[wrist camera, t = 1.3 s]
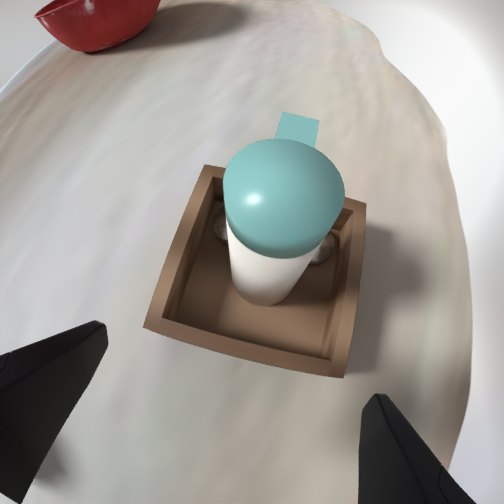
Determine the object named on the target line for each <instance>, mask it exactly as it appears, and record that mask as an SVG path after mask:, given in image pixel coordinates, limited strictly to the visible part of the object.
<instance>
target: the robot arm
mask: <svg viewBox="0 0 504 504" xmlns="http://www.w3.org/2000/svg"><path fill="white" fill-rule="evenodd" d="M107 347H108V336H107V329H106V325H105V324H104V323H101V322H99V321H96V320H94V321H91V322H88V323H86V324H83V325H80V326H78V327H75V328H72V329H70V330H67V331H64V332H62V333H59V334H57V335H54V336H51V337H49V338H46V339H43V340H41V341H38V342H35V343H33V344H30V345H27V346H25V347H22V348H19V349H17V350H14V351H11V353H10V352H8V353H6V354H3V355H0V493H2V494H3V495H5V496H6V497H8V498H10V499H11V500H13V501H14V502H16V503H18V504H21V503H22V501H23V499H24V497H25V495H26V493H27V491H28V489H29V487H30V485H31V483H32V481H33V479H34V477H35V476H36V474H37V472H38V470H39V468H40V466H41V464H42V462H43V460H44V458H45V457H46V455H47V453H48V451H49V449H50V448H51V446H52V444H53V442H54V441H55V439H56V437H57V435H58V434H59V432H60V430H61V429H62V427H63V425H64V423H65V422H66V420H67V418H68V417H69V415H70V413H71V412H72V410H73V409H74V407H75V405H76V404H77V402H78V401H79V399H80V397H81V396H82V394H83V393H84V391H85V389H86V388H87V386H88V385H89V383H90V381H91V379H92V377H93V375H94V373H95V371H96V369H97V367H98V365H99V363H100V361H101V359H102V357H103V355H104V353H105V352H106V350H107ZM358 504H476V503H475V502H474V501H473V500H472V499H471V498H470V497H469V496H468V494H467V493H466V492H465V491H464V490H463V489H462V488H461V487H460V486H459V485H458V484H457V483H456V482H455V480H454V479H453V478H452V477H451V476H450V474H449V473H448V472H447V470H446V469H445V468H444V467H443V465H441V463H440V462H439V460H438V459H437V458H436V456H435V455H434V454H433V453H432V451H431V450H430V449H429V447H428V446H427V445H426V444H425V442H424V441H423V440H422V439H421V437H420V436H419V435H418V433H417V432H416V431H415V430H414V428H413V427H412V426H411V425H410V423H409V422H408V421H407V420H406V418H405V417H404V416H403V415H402V413H401V412H400V411H399V409H398V408H397V407H396V406H395V404H394V403H393V402H392V401H391V399H390V398H389V397H388V396H387V395H386V394H378V393H376V394H374V395H373V396H372V397H371V399H370V400H369V401H368V403H367V404H366V405H365V407H364V408H363V410H362V417H361V430H360V442H359V487H358Z"/></svg>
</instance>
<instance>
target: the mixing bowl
mask: <svg viewBox="0 0 504 504" xmlns="http://www.w3.org/2000/svg"><path fill="white" fill-rule="evenodd" d="M160 1H161V0H54V1H52V2H51V3H49V4H48V5H46V6H45V7H43V8H42V9H41V10H39V11H38V12H37V13H36V14H35V16H34V18H37V19H38V20H39V21H40V23H41V24H42V25H43V26H44V28H45V29H46V30H47V31H48V32H49V33H50V34H52V35H53V36H54V37H55V38H56V39H57V40H59V41H60V42H61V43H63V44H64V45H66V46H68V47H69V48H71V49H73V50H76V51H81V52H97V51H101V50H105V49H108V48H111V47H114V46H117V45H119V44H121V43H123V42H126V41H128V40H130V39H131V38H133V37H135V36H136V35H138V34H139V33H140V32H141V31H142V30H143V29H144V28H145V27H146V26H147V25H148V24H149V23H150V22H151V20H152V19H153V17H154V15H155V13H156V11H157V8H158V6H159V3H160Z"/></svg>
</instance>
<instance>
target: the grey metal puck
mask: <svg viewBox="0 0 504 504" xmlns="http://www.w3.org/2000/svg"><path fill="white" fill-rule="evenodd" d="M212 223H213V229H214V234H215V236H216V238H217V240H218V241H219V242H221V243H222V244H224V245H226V246H229V243H228V233H227V223H226V212H225V206H224V207H222V208H220V209H219V210H218V211H217V212H216V213H215V215H214V217H213V222H212Z"/></svg>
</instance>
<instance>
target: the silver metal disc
mask: <svg viewBox="0 0 504 504" xmlns="http://www.w3.org/2000/svg"><path fill="white" fill-rule="evenodd" d="M334 246H335V242H334V238H333V236H332V234H331V232H330V231H329V232H328V234H327V235H326V237H325V239H324V240H323V242H322V243H321V245H320V247H319V248H318V250H317V251H316V253H315V255H314V256H313V258H312V259H311V261H310V262H309V264H308V265H309V266H318V265H321V264H323V263H324V262H325V261H326V260H327V259H328V258H329V257H330V255H331V254H332V252H333V250H334Z"/></svg>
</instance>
